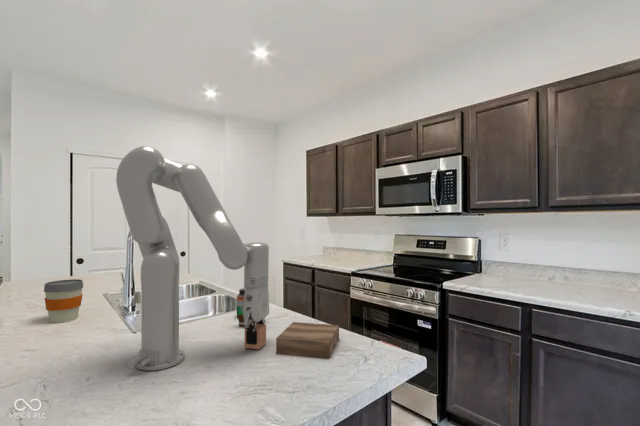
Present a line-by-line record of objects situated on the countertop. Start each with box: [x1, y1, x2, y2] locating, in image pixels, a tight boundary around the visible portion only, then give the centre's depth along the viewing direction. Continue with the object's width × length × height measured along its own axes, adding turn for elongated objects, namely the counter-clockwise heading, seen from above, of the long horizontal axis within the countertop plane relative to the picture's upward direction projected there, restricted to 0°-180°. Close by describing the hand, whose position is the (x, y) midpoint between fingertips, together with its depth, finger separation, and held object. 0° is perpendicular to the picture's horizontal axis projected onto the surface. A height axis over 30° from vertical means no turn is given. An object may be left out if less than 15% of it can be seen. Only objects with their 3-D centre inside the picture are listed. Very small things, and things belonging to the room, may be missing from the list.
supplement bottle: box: [236, 287, 245, 318], centre depth 135 cm, size 6×6×11 cm
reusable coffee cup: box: [43, 278, 84, 324], centre depth 132 cm, size 13×13×15 cm
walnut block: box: [275, 321, 340, 360], centre depth 104 cm, size 16×16×5 cm
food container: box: [235, 299, 253, 328], centre depth 125 cm, size 12×6×10 cm, turn 143°
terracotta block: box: [243, 323, 267, 350], centre depth 104 cm, size 5×5×6 cm
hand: (255, 339), depth 104 cm, fingers closed on terracotta block, 5 cm apart
